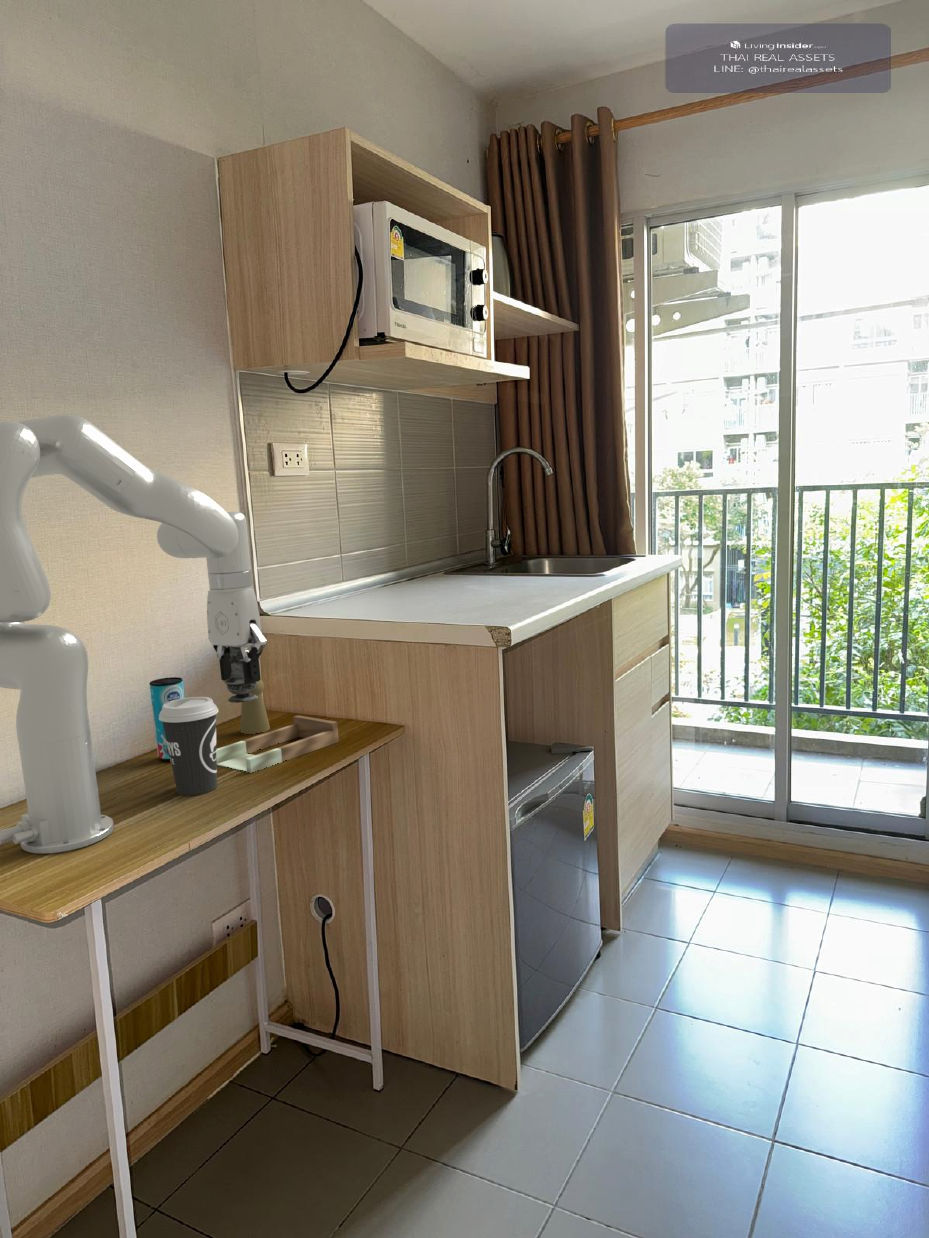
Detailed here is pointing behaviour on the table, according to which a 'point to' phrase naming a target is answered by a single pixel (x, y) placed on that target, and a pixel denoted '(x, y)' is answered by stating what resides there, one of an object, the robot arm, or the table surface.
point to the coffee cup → (191, 743)
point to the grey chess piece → (239, 679)
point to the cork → (254, 713)
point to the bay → (309, 728)
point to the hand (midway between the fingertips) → (240, 679)
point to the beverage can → (160, 695)
